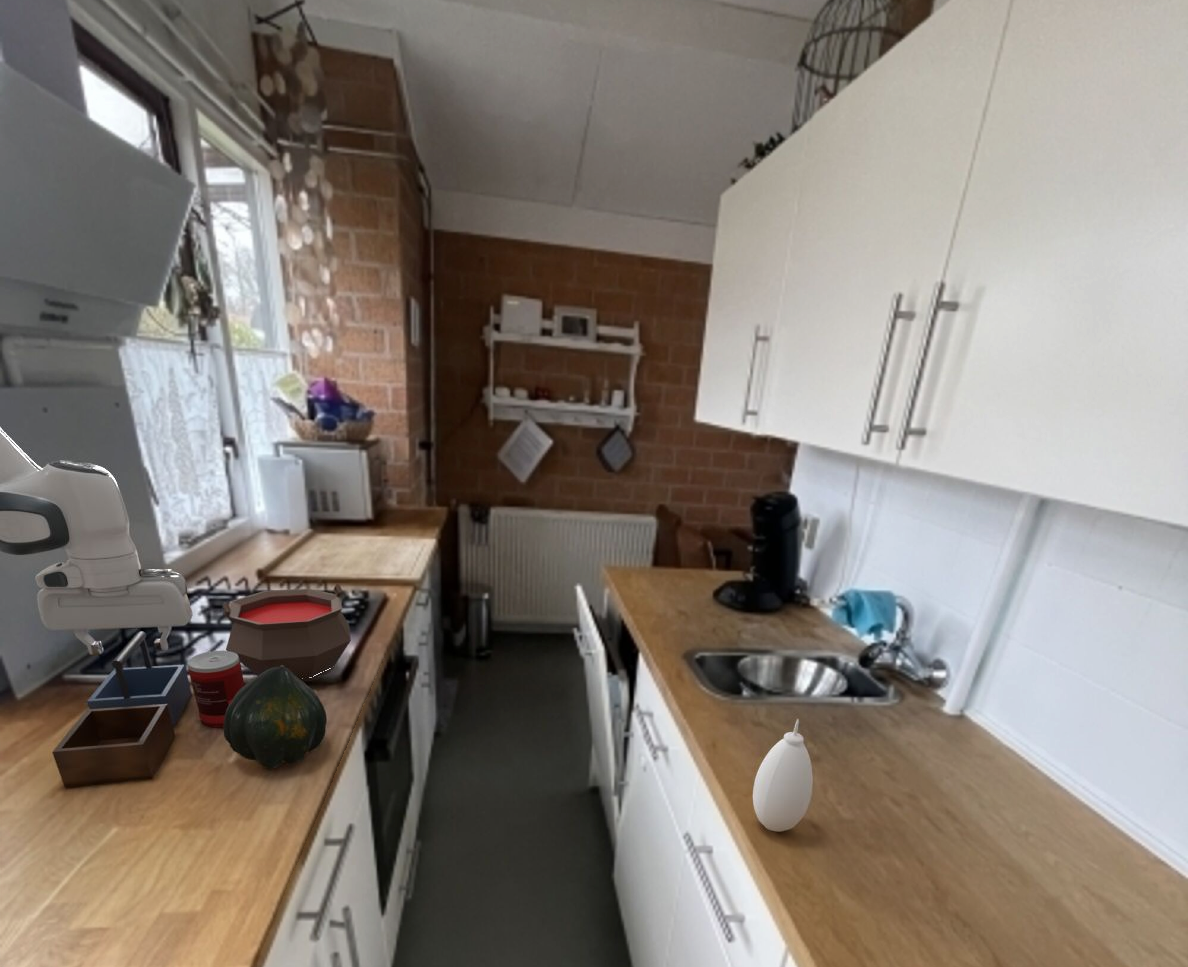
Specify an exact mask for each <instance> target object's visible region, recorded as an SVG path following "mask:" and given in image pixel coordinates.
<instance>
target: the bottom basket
mask: <svg viewBox="0 0 1188 967" xmlns="http://www.w3.org/2000/svg"><path fill="white" fill-rule="evenodd" d="M175 737H176V733H175V729H174V728H173V725H172V721H171V717H170V714H169V710H168V706H167V704H158V705H144V706H130V707H116V708H101V709H89V708H88V709H86V710H85V711H84V712H83V714H82V715H80V717H79V718H78V720H77V721H76V722H75V723H74V724H73V726H72V727H71V729H70V730H68V732H67V733H66V734H65V735H64V737H63V738H62V739H61V740H60V742H58V744H57V745H56V746H55V747H54V749H53V750H52V751H51V753H52V756H53V759H54V761H55V764H56V767H57V770H58V773H59V776H60V778H61V782H62V783H63V786H64V788H65V789H67V788H75V787H84V786H85V787H86V786H87V787H88V786H96V785H106V784H108V785H109V784H118V783H126V782H127V783H128V782H136V781H137V782H138V781H148V780H153V779H154V777H155V775H157V774H156V773H157V772H158V770H159V768H160V766H161V764H162V762H163V760H164V759H165V757H166V755H167V753H168V751H169V749H170V747H171V745H172V743H173V742H174V740H175Z"/></svg>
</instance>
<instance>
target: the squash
mask: <svg viewBox="0 0 1188 967" xmlns="http://www.w3.org/2000/svg"><path fill="white" fill-rule="evenodd" d="M244 685H245V686H243V687H242V688H241V689H240V690H239V691H238V692H237V694H236V695H235V697H234V698H233V700H232V701H231V703H230V704H229V706H228V708H227V710H226V714H225V718H224V727H223V737H224V739H225V740H226V742H227V743H228V744H229V746H230V748H231V750H232V751H233V753H236V754H238V755H240V756H241V757H242V758H244V759H246V760H250V761H257V762H258V764H260V766H261V767H263V768H266V769H269V770H275V769H277V768H279V767H281V765H283V763H284V762H285V763H287V764H297V763H299V762H301V761H302V760H304V758H305V757H306V756H307V754H308V753H311V752H312V751H315V750H316V749H318V748H319V746H320V745H321V743H323V740H324V739H325V736H326V732H327V730H326V728H327V722H328V718H327V717H328V716H327V712H326V709H325V707H324V705H323V703H322V701H321V700H320V698H319V696H318V695H317V694H316V693H315V691H314V690H313V689H312V688H311V687H310V686H309V685H307V684H306V683H305V682H302V681H301V680H300V679H298V678H297V677H296V676H295V675H294V674H293V673H292V672H291V671H290V670H288V669H287V668H285V667H284V666H279V667H274V668H271V669H269V670H267V671H265V672H263V673H262V674H260V675H259V676H257V675H256V677H253V678H251V679H250V680H249V681H248V682H247V683H246V684H244Z"/></svg>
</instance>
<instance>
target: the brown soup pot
mask: <svg viewBox="0 0 1188 967" xmlns="http://www.w3.org/2000/svg"><path fill="white" fill-rule="evenodd" d="M333 591H334V593H331V592H326V591H322V590H317V589H313V588H295V589H294V588H293V589H273V590H272V589H271V590H264V591H260V592H257V593H254V594H250V595H247V596H244V597H240V598H237V599H234V600H231V601H229V603H228V602H227V601H223V602H222V604H221V610H222V613H223V615H224V617H226V618H227V619H228V620H229V621H230V622H232V624H231V625H232V626H231V630H230V632H229V637H228V640H227V644H226V647H225V651H230V652H234V653H236V654H237V655H238V657H239V660H240V664H241V665H244V667H246V668H247V669H248V670H249V671H250V672H251V673H253V674H254V675H255V676H256V677H257V676H259V675H260V674H262V673H263V672H265V671H267V670H269V669H271V668H274V667H279V666H284V667H285V668H287V669H288V670H290V671H291V672H292V673H293V674H294V675H295V676H296V677H297V678H298V679H300V680H301V681H302V682H304V683H305V682H306V683H307V682H311V681H314V680H316V679H318V678H320V677H323V676H324V675H327V674H328V673H331V672H332V671H333V669H334V667H335V666H336V664H338V661H339V660H340V658H341V657H342V656H343V654H344V652H345V651H346V649H347V648H348V646H349V645H350V643H351V641H352V638H351V630H350V624H349V622H348V621H347V619H346V617H345V616H344V614H343V612H342V610H343V605H342V604H343V603H342V594H343V589H342V587H341V584H339V583H336V584H335V585H334V587H333ZM333 666H334V667H333ZM332 667H333V668H332ZM329 668H331V669H329ZM327 669H329V670H327ZM325 670H327V671H325ZM323 671H324V672H323ZM320 672H322V673H320ZM318 673H320V674H318ZM316 674H318V675H316ZM314 675H316V676H314ZM313 676H314V677H313ZM309 677H312V678H309ZM302 678H303V679H302Z"/></svg>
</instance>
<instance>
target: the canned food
mask: <svg viewBox="0 0 1188 967" xmlns="http://www.w3.org/2000/svg"><path fill="white" fill-rule="evenodd" d="M187 669H188V674H189V678H190V682H191V686H192V690H193V694H194V699H195V703H196V706H197V712H198V715H199V719H200V721H201V722H202V723H203V724H204V725H205V726H207V727H211V728H212V727H213V728H224V718H225V714H226V710H227V708H228V706H229V704H230V703H231V701H232V700H233V698H234V697H235V695H236V694H237V692H238V691H239V690H240V689H241V688H242V687H243V686H245V685H246V684H245V680H244V675H243V670H242V663H241V662H240V660H239V657H238V655H237V654H236V653H234V652H230V651H227V650H211V651H206V652H201V653H199V654H195V655H194V656H192V657H191V658H189V660H188V661H187Z"/></svg>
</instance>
